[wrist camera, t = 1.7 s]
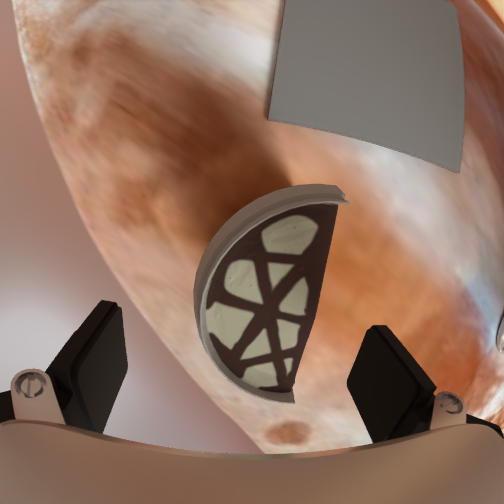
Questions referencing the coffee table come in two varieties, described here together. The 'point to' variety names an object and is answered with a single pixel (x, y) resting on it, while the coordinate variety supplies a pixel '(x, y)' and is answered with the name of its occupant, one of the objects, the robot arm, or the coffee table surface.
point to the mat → (374, 74)
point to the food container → (265, 287)
